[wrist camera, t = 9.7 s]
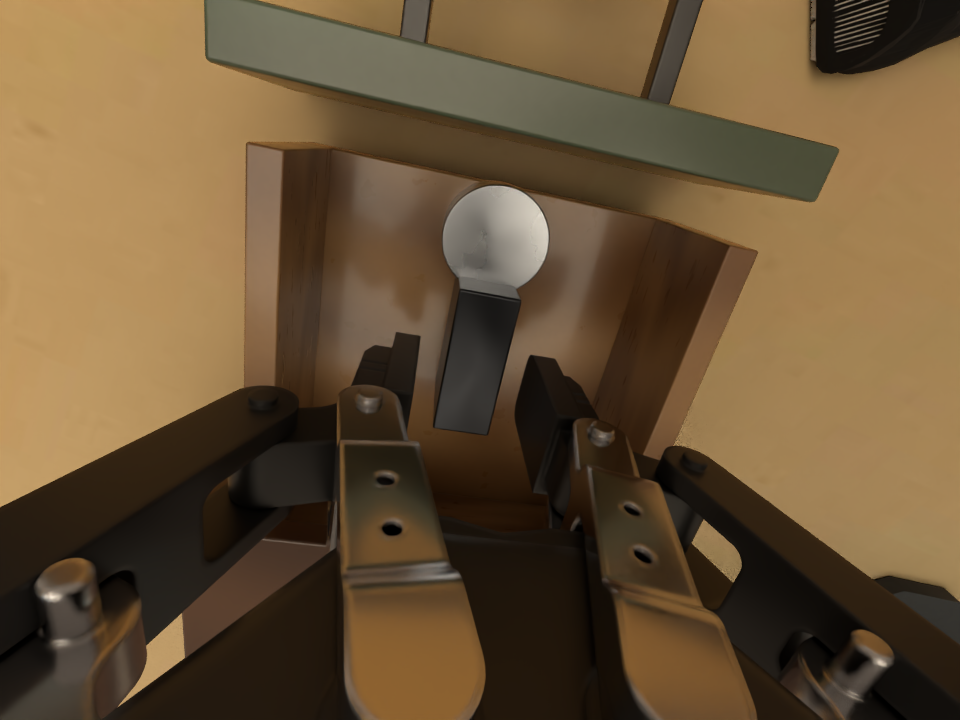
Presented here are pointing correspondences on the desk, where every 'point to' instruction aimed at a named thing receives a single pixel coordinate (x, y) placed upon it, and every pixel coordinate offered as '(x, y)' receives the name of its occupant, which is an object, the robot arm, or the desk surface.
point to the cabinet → (253, 578)
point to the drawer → (418, 237)
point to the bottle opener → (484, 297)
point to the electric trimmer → (878, 31)
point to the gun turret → (927, 603)
